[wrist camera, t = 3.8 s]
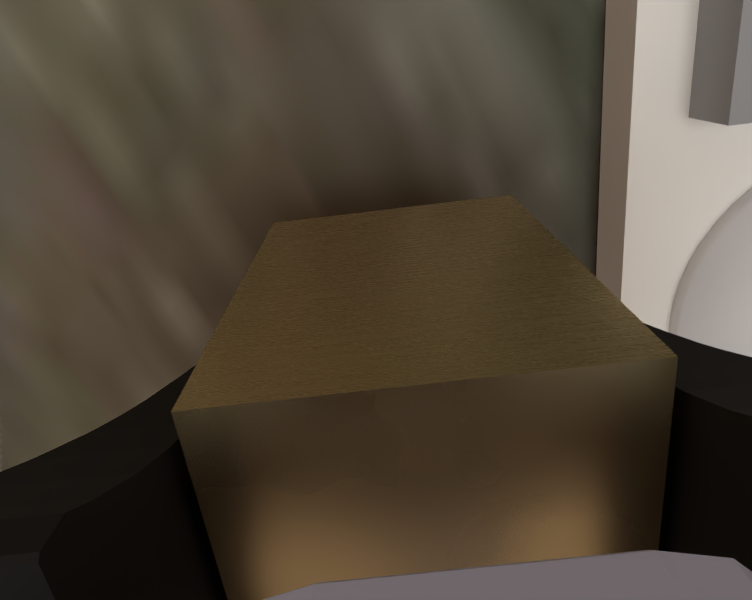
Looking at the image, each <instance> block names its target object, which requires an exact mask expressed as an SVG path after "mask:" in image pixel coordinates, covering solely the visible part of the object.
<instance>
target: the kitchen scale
mask: <svg viewBox="0 0 752 600" xmlns="http://www.w3.org/2000/svg"><path fill="white" fill-rule="evenodd" d="M596 278H597V279H598V280H599V281H600V282H601V283H602V284H604V285H605V286H606V287H607V288H608V289H609V290H610V291H611V292H612V293H613V294H614V295H615V296H616V297H617V298H618V299H619V300H620V301H621V302H622V303H623V304H624V305H625V306H626V307H627V308H628V309H629V310H630V311H631V312H632V313H633V314H635V315H636V316H637V317H638V318H639V319H640V320H641V321H642V322H643V323H645V324H648V325H650V326H653V327H655V328H658V329H661V330H663V331H666V332H669V333H672V334H675V335H678V336H681V337H684V338H687V339H690V340H692V341H695V342H698V343H702V344H705V345H708V346H712V347H715V348H718V349H722V350H726V351H730V352H734V353H737V354H741V355H745V356H749V357H752V0H606V18H605V45H604V72H603V99H602V126H601V153H600V181H599V208H598V235H597V262H596Z"/></svg>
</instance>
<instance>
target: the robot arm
mask: <svg viewBox="0 0 752 600" xmlns="http://www.w3.org/2000/svg"><path fill="white" fill-rule="evenodd" d="M644 324H645V323H644ZM645 325H646V326H647V327H648V328H649V329H650V330H651V331H652V332H653V333H654V334H655V335H656V336H657V337H658V338H659V339H660V340H661V341H662V342H663V343H664V344H666V345H667V346H668V347H669V348H670V349H671V350H672V351H673V352H674V353H675V354H676V355H677V356H678V363H677V372H676V382H675V392H674V402H673V412H672V422H671V432H670V441H669V451H668V461H667V471H666V481H665V491H664V501H663V511H662V520H661V530H660V540H659V550H658V551H657V550H640V551H630V552H620V553H610V554H600V555H590V556H580V557H570V558H560V559H550V560H540V561H530V562H520V563H510V564H500V565H490V566H480V567H469V568H459V569H449V570H439V571H429V572H419V573H409V574H399V575H389V576H379V577H369V578H359V579H349V580H339V581H329V582H319V583H314V584H311V585H308V586H305V587H301V588H298V589H295V590H292V591H288V592H285V593H282V594H279V595H275V596H272V597H269V598H266V599H262V600H752V357H749V356H745V355H741V354H737V353H734V352H730V351H726V350H722V349H718V348H715V347H712V346H708V345H705V344H702V343H698V342H695V341H692V340H690V339H687V338H684V337H681V336H678V335H675V334H672V333H669V332H666V331H663V330H661V329H658V328H655V327H653V326H650V325H648V324H645ZM196 365H197V364H196ZM196 365H195V366H196ZM195 366H194V367H192V368H191V369H190V370H188V371H187V372H186V373H184V374H183V375H182V376H180V377H179V378H177V379H176V380H174V381H173V382H171V383H170V384H169V385H167V386H166V387H164V388H163V389H161V390H160V391H158V392H157V393H155V394H154V395H153V396H151V397H150V398H148V399H147V400H145V401H144V402H142V403H140V404H139V405H137V406H136V407H134V408H132V409H131V410H129V411H127V412H126V413H124V414H122V415H120V416H119V417H117V418H115V419H113V420H111V421H110V422H108V423H106V424H104V425H102V426H101V427H99V428H97V429H95V430H93V431H91V432H89V433H87V434H85V435H83V436H81V437H79V438H77V439H74V440H72V441H70V442H68V443H66V444H64V445H62V446H60V447H57V448H55V449H53V450H51V451H49V452H47V453H45V454H42V455H40V456H38V457H36V458H34V459H31V460H29V461H26V462H24V463H21V464H19V465H17V466H14V467H12V468H9V469H7V470H4V471H2V472H0V600H228V599H227V596H226V593H225V589H224V586H223V583H222V580H221V576H220V573H219V570H218V566H217V563H216V560H215V556H214V553H213V550H212V546H211V543H210V540H209V536H208V533H207V530H206V527H205V523H204V520H203V517H202V513H201V510H200V507H199V503H198V500H197V497H196V493H195V490H194V487H193V483H192V480H191V477H190V474H189V470H188V467H187V464H186V460H185V457H184V454H183V450H182V447H181V444H180V440H179V437H178V434H177V430H176V427H175V424H174V421H173V417H172V414H171V411H172V409H173V407H174V405H175V403H176V401H177V400H178V398H179V396H180V394H181V392H182V390H183V389H184V387H185V385H186V383H187V381H188V379H189V377H190V376H191V374H192V372H193V370H194V368H195Z"/></svg>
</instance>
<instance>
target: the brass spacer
mask: <svg viewBox="0 0 752 600" xmlns="http://www.w3.org/2000/svg"><path fill="white" fill-rule="evenodd" d="M677 363H678V356H677V355H676V354H675V353H674V352H673V351H672V350H671V349H670V348H669V347H668V346H667V345H666V344H664V343H663V342H662V341H661V340H660V339H659V338H658V337H657V336H656V335H655V334H654V333H653V332H652V331H651V330H650V329H649V328H648V327H647V326H646V325H645V324H644V323H643V322H642V321H641V320H640V319H639V318H638V317H637V316H636V315H635V314H633V313H632V312H631V311H630V310H629V309H628V308H627V307H626V306H625V305H624V304H623V303H622V302H621V301H620V300H619V299H618V298H617V297H616V296H615V295H614V294H613V293H612V292H611V291H610V290H609V289H608V288H607V287H606V286H605V285H604V284H602V283H601V282H600V281H599V280H598V279H597V278H596V277H595V276H594V275H593V274H592V273H591V272H590V271H589V270H588V269H587V268H586V267H585V266H584V265H583V264H582V263H581V262H580V261H579V260H578V259H577V258H576V257H575V256H574V255H573V254H571V253H570V252H569V251H568V250H567V249H566V248H565V247H564V246H563V245H562V244H561V243H560V242H559V241H558V240H557V239H556V238H555V237H554V236H553V235H552V234H551V233H550V232H549V231H548V230H547V229H546V228H545V227H544V226H543V225H541V224H540V223H539V222H538V221H537V220H536V219H535V218H534V217H533V216H532V215H531V214H530V213H529V212H528V211H527V210H526V209H525V208H524V207H523V206H522V205H521V204H520V203H519V202H518V201H517V200H516V199H515V198H514V197H513V196H512V195H505V196H496V197H488V198H479V199H471V200H462V201H454V202H445V203H437V204H428V205H420V206H411V207H403V208H394V209H386V210H377V211H369V212H361V213H352V214H344V215H335V216H327V217H318V218H310V219H301V220H293V221H284V222H276V223H273V224H272V226H271V228H270V230H269V232H268V234H267V235H266V237H265V239H264V241H263V243H262V245H261V246H260V248H259V250H258V252H257V254H256V256H255V258H254V259H253V261H252V263H251V265H250V267H249V269H248V270H247V272H246V274H245V276H244V278H243V280H242V282H241V283H240V285H239V287H238V289H237V291H236V293H235V294H234V296H233V298H232V300H231V302H230V304H229V305H228V307H227V309H226V311H225V313H224V315H223V317H222V318H221V320H220V322H219V324H218V326H217V328H216V329H215V331H214V333H213V335H212V337H211V339H210V341H209V342H208V344H207V346H206V348H205V350H204V352H203V353H202V355H201V357H200V359H199V361H198V363H197V365H196V366H195V368H194V370H193V372H192V374H191V376H190V377H189V379H188V381H187V383H186V385H185V387H184V389H183V390H182V392H181V394H180V396H179V398H178V400H177V401H176V403H175V405H174V407H173V409H172V411H171V414H172V417H173V421H174V424H175V427H176V430H177V434H178V437H179V440H180V444H181V447H182V450H183V454H184V457H185V460H186V464H187V467H188V470H189V474H190V477H191V480H192V483H193V487H194V490H195V493H196V497H197V500H198V503H199V507H200V510H201V513H202V517H203V520H204V523H205V527H206V530H207V533H208V536H209V540H210V543H211V546H212V550H213V553H214V556H215V560H216V563H217V566H218V570H219V573H220V576H221V580H222V583H223V586H224V589H225V593H226V596H227V599H228V600H262V599H266V598H269V597H272V596H275V595H279V594H282V593H285V592H288V591H292V590H295V589H298V588H301V587H305V586H308V585H311V584H314V583H319V582H329V581H339V580H349V579H359V578H369V577H379V576H389V575H399V574H409V573H419V572H429V571H439V570H449V569H459V568H469V567H480V566H490V565H500V564H510V563H520V562H530V561H540V560H550V559H560V558H570V557H580V556H590V555H600V554H610V553H620V552H630V551H640V550H657V551H658V550H659V540H660V530H661V520H662V511H663V501H664V491H665V481H666V471H667V461H668V451H669V441H670V432H671V422H672V412H673V402H674V392H675V382H676V372H677Z"/></svg>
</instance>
